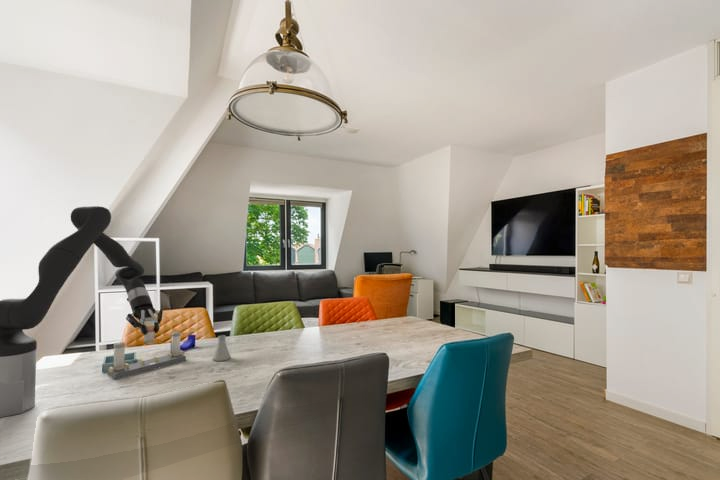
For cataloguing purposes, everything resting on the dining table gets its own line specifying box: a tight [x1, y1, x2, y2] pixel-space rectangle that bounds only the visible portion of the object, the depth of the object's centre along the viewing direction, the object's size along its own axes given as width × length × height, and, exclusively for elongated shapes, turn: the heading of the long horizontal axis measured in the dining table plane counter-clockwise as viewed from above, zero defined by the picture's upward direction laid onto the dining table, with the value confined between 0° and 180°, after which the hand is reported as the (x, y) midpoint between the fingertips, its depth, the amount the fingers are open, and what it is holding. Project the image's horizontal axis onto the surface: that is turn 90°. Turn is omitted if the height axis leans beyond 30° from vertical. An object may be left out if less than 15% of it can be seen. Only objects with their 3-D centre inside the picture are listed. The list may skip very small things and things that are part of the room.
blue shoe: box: [170, 334, 196, 351], centre depth 161 cm, size 12×4×6 cm, turn 164°
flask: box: [212, 334, 232, 362], centre depth 147 cm, size 7×7×10 cm
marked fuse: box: [143, 316, 156, 344], centre depth 137 cm, size 4×4×10 cm
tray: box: [101, 351, 137, 373], centre depth 139 cm, size 12×11×3 cm
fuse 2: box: [170, 331, 182, 357], centre depth 145 cm, size 4×4×10 cm
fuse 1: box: [113, 341, 126, 371], centre depth 128 cm, size 4×4×10 cm
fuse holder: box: [106, 350, 187, 380], centre depth 136 cm, size 27×8×4 cm, turn 144°
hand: (151, 332), depth 136 cm, fingers closed on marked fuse, 3 cm apart
